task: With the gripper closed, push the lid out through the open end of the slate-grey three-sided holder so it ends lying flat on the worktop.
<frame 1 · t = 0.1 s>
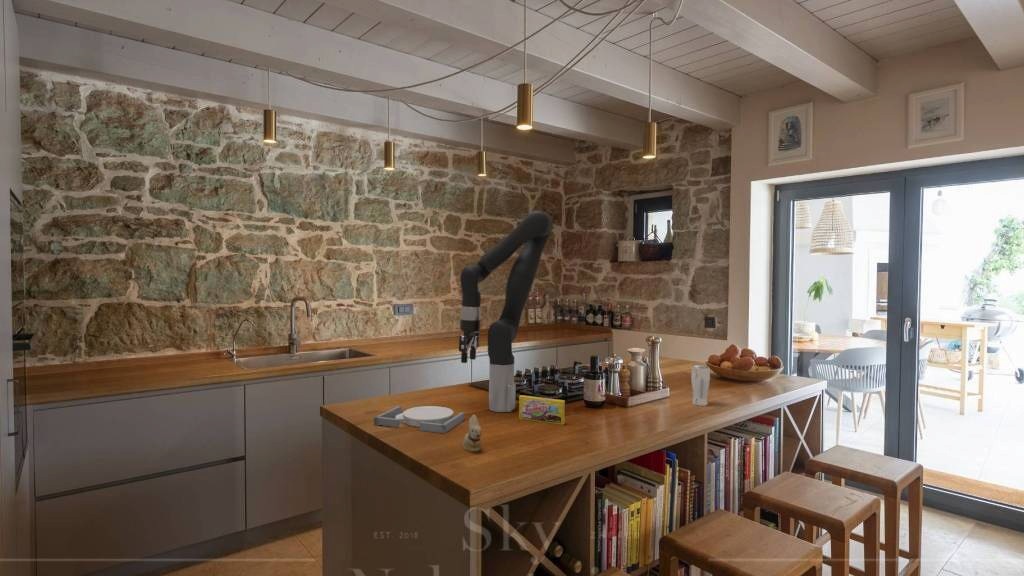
hand: (468, 361, 202), 17 cm above the countertop, tool pointing down, fingers open, 8 cm apart
chocolate bunny: (472, 448, 155), on the countertop
candy box: (541, 422, 184), on the countertop
lid holder: (424, 419, 183), on the countertop
lid: (424, 421, 183), on the countertop
beer glass: (699, 404, 212), on the countertop
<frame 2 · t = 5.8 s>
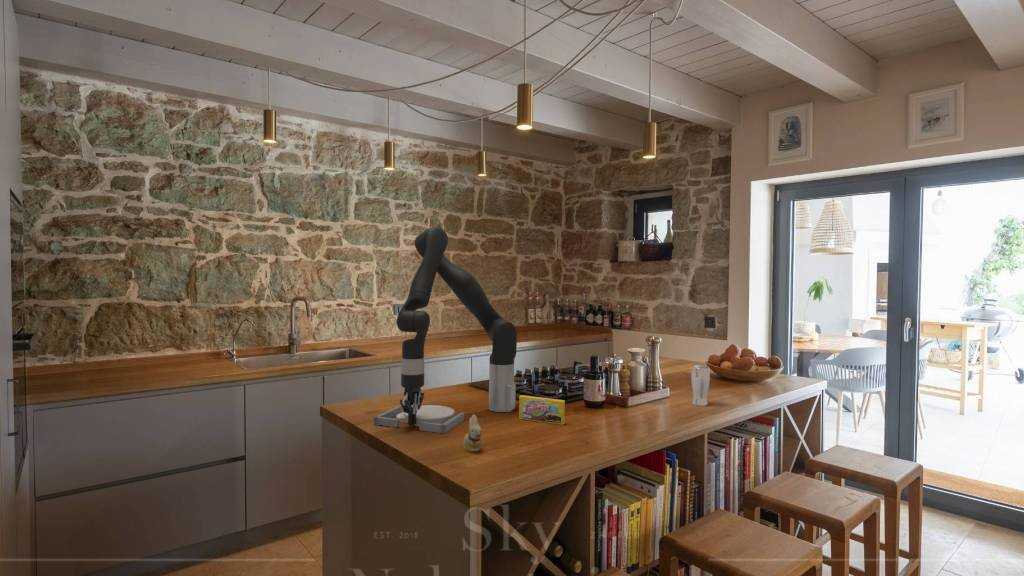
hand: (412, 424, 174), 1 cm above the countertop, tool pointing down, fingers closed
nothing on the countertop moved.
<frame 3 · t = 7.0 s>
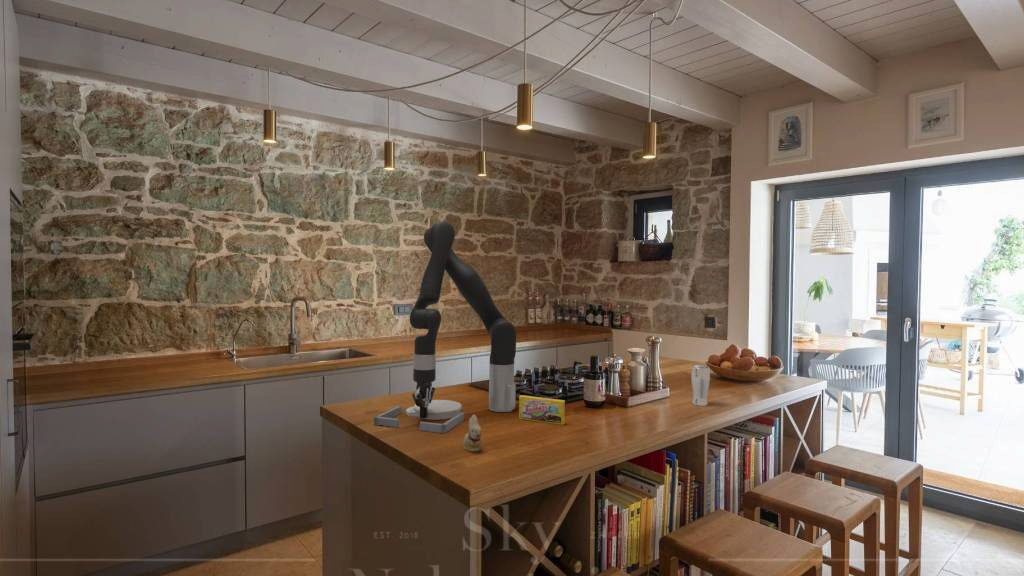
hand: (423, 417, 182), 1 cm above the countertop, tool pointing down, fingers closed
lid: (433, 414, 192), on the countertop, touching gripper
everything else where it was.
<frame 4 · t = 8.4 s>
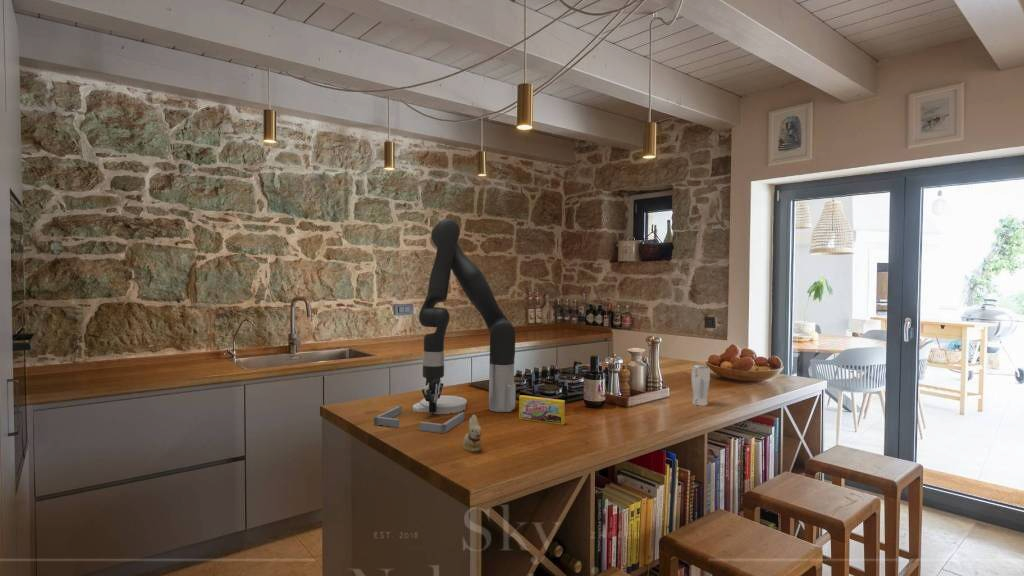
hand: (432, 412, 189), 1 cm above the countertop, tool pointing down, fingers closed
lid: (439, 409, 199), on the countertop, touching gripper
everything else where it was.
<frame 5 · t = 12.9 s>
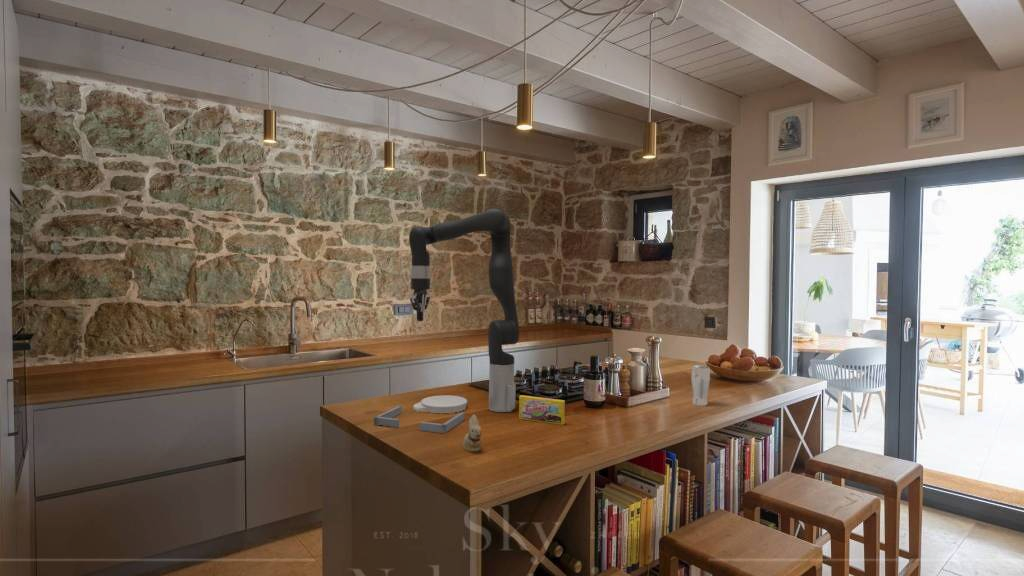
hand: (420, 320, 212), 31 cm above the countertop, tool pointing down, fingers closed
lid: (440, 409, 199), on the countertop
everything else where it was.
at the end: lid inside the target area (3.0 cm from its centre), on the countertop; lid touching countertop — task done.
